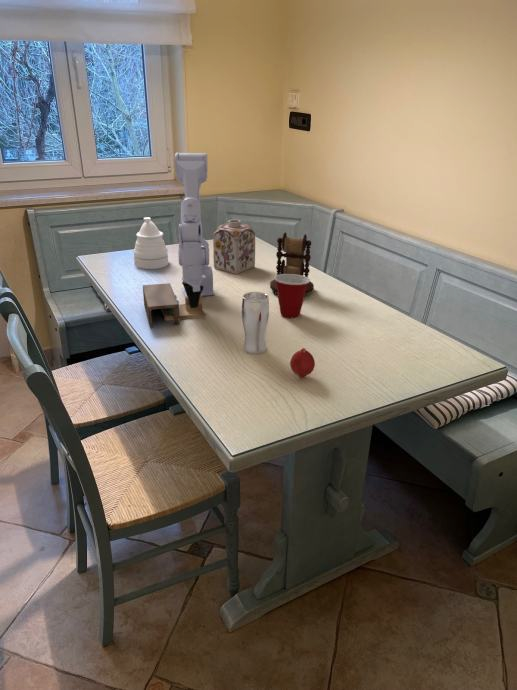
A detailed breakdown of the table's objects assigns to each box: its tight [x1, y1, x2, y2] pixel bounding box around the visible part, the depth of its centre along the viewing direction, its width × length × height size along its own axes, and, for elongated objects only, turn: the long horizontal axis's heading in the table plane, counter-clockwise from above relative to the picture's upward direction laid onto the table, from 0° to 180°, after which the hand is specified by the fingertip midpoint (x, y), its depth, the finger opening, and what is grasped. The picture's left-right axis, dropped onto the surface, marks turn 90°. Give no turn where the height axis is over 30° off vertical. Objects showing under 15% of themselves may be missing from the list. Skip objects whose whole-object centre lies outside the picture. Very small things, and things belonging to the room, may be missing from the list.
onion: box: [289, 347, 316, 379], centre depth 125 cm, size 6×6×8 cm
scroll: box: [269, 231, 315, 296], centre depth 175 cm, size 15×15×20 cm
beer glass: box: [241, 291, 270, 355], centre depth 136 cm, size 7×7×15 cm
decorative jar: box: [212, 219, 256, 275], centre depth 197 cm, size 12×12×18 cm
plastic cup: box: [273, 274, 311, 319], centre depth 158 cm, size 11×11×12 cm
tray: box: [160, 294, 206, 321], centre depth 160 cm, size 12×9×5 cm
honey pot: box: [133, 216, 169, 270], centre depth 199 cm, size 13×13×18 cm
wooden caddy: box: [142, 282, 180, 329], centre depth 157 cm, size 8×18×6 cm, turn 16°
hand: (193, 305), depth 161 cm, fingers closed on tray, 2 cm apart
